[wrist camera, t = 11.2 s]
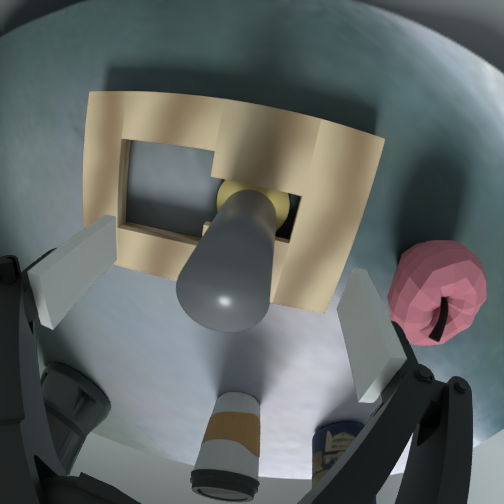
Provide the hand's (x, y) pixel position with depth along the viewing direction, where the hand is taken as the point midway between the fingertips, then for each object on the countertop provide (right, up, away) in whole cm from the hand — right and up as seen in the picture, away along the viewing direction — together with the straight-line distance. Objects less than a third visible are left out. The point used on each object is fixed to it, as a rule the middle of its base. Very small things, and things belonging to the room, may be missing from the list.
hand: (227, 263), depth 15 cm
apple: (+17, 0, +10) cm, 20 cm away
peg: (+1, +5, +9) cm, 11 cm away
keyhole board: (-2, +6, +9) cm, 11 cm away
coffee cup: (-1, -21, +23) cm, 31 cm away
